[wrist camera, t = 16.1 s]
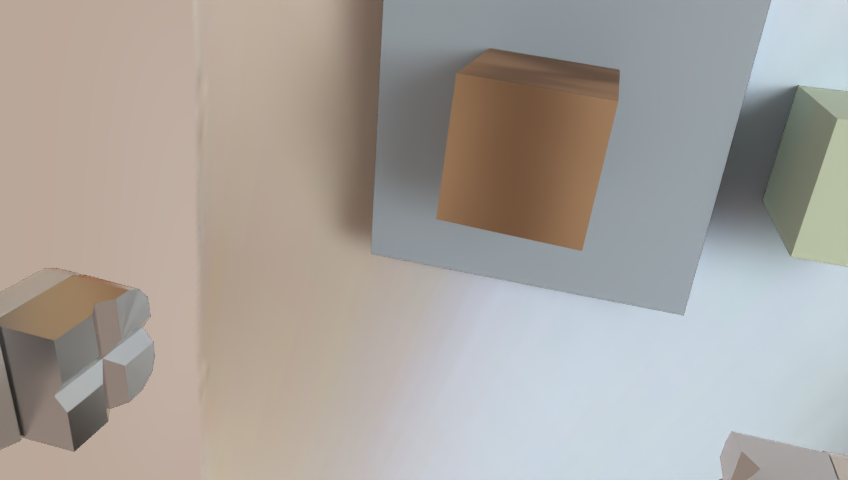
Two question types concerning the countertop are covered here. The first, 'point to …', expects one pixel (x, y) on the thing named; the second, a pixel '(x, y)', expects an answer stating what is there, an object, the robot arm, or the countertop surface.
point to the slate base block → (626, 152)
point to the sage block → (813, 178)
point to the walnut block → (527, 146)
